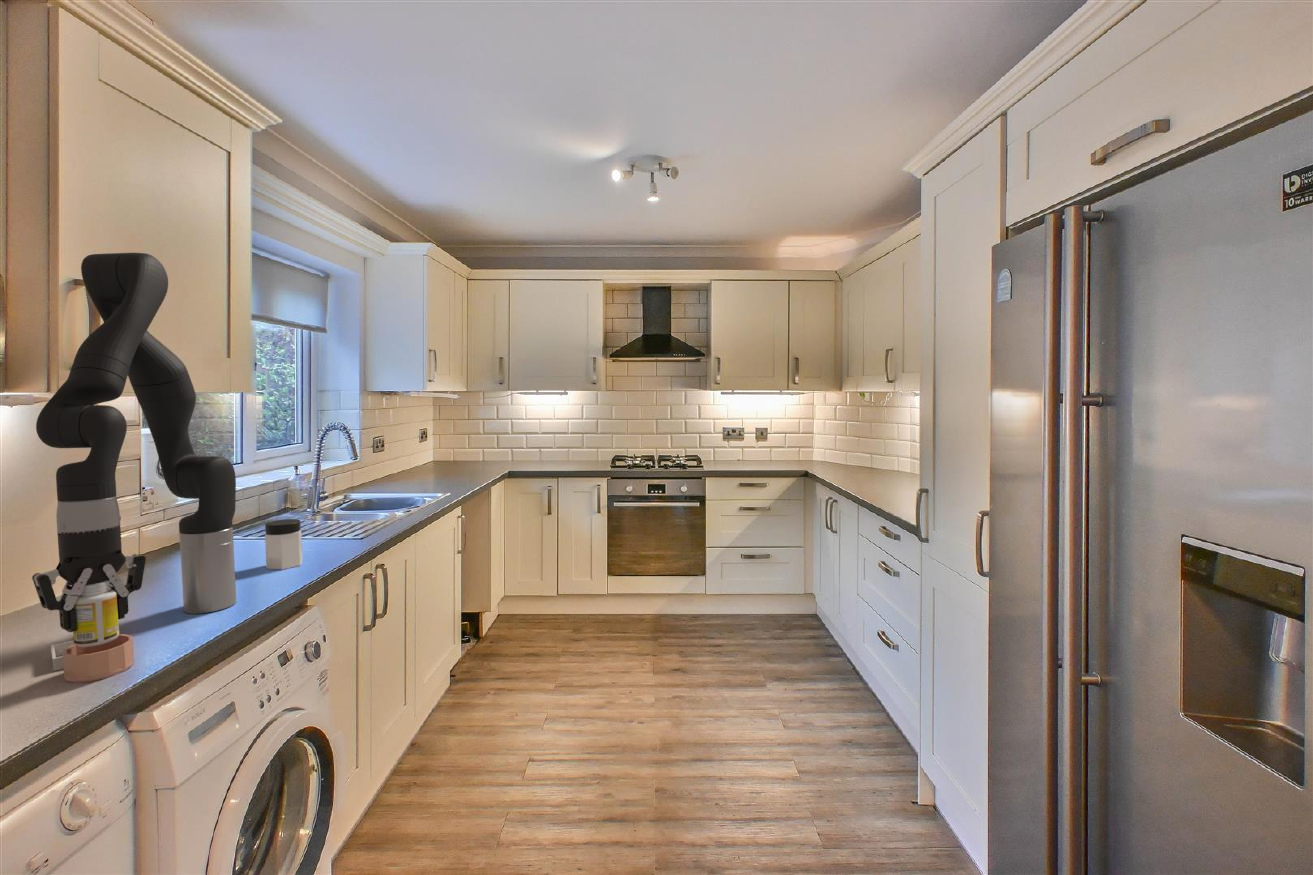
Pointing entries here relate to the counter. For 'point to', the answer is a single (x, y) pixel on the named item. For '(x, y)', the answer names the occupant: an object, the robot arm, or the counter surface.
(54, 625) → the counter surface
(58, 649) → the tray
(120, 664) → the terracotta bowl
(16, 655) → the counter surface
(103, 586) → the supplement bottle
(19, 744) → the counter surface
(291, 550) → the jar
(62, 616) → the robot arm
